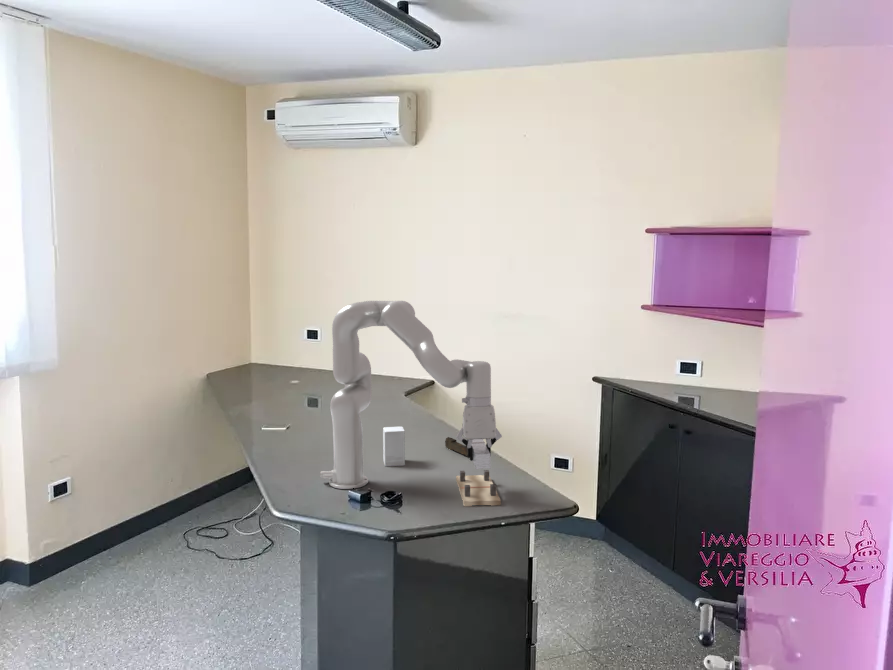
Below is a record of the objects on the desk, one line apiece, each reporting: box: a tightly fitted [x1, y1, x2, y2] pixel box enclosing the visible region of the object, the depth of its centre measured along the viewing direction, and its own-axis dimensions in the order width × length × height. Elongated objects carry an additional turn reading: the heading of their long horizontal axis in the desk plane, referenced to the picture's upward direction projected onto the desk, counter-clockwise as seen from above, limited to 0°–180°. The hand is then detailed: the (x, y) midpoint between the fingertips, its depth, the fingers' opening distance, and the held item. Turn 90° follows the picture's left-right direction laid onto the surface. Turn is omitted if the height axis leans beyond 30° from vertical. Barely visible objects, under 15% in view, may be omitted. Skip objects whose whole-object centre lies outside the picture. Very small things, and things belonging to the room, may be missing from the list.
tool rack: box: [455, 469, 502, 507], centre depth 213 cm, size 11×24×4 cm, turn 5°
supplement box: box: [382, 426, 406, 467], centre depth 243 cm, size 7×7×13 cm
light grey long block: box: [471, 439, 491, 470], centre depth 210 cm, size 4×18×4 cm, turn 5°
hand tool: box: [444, 436, 469, 458], centre depth 257 cm, size 19×4×5 cm, turn 31°
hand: (479, 458), depth 210 cm, fingers closed on light grey long block, 4 cm apart
